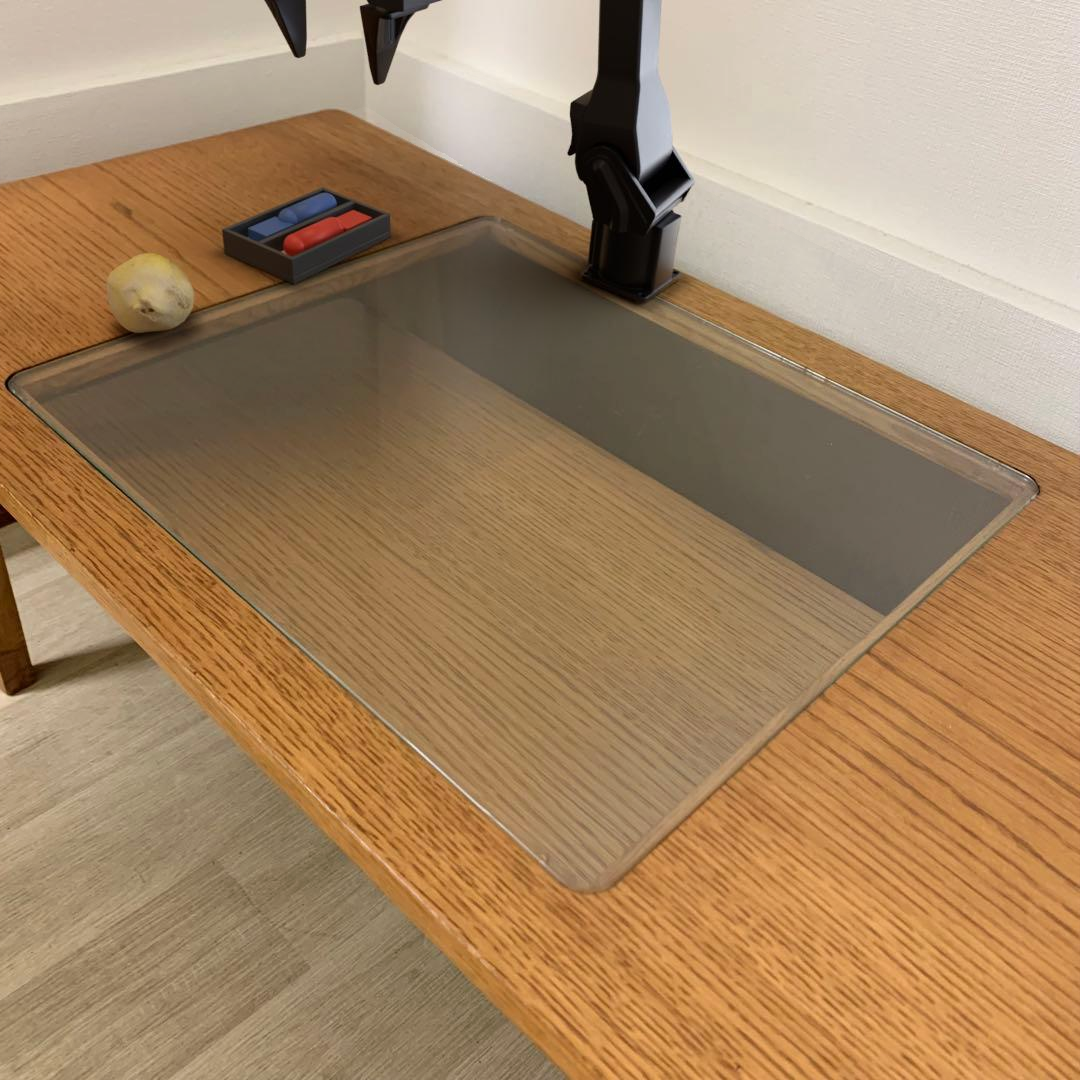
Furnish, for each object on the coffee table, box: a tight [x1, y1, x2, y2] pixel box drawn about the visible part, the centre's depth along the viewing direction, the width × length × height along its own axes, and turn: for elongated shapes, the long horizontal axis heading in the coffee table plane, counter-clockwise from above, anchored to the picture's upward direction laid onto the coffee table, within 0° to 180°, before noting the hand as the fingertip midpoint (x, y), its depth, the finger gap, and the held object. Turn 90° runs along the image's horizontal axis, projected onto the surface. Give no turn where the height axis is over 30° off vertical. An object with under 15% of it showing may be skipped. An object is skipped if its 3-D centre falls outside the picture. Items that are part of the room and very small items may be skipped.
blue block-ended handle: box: [248, 193, 337, 242], centre depth 97 cm, size 9×2×2 cm, turn 145°
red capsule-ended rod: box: [283, 210, 372, 257], centre depth 95 cm, size 9×2×2 cm, turn 145°
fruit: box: [106, 252, 195, 334], centre depth 85 cm, size 6×6×10 cm
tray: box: [221, 187, 392, 285], centre depth 97 cm, size 8×12×2 cm, turn 145°
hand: (339, 70), depth 99 cm, fingers open, 9 cm apart
